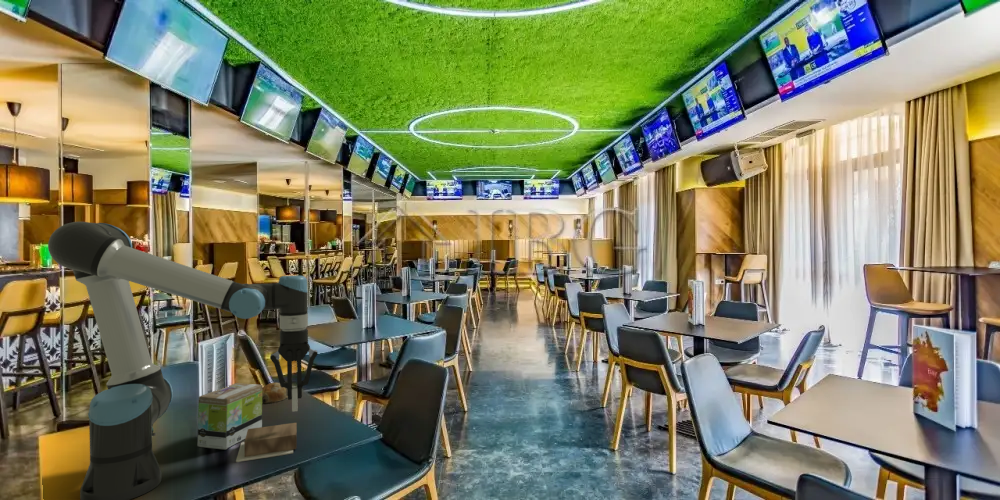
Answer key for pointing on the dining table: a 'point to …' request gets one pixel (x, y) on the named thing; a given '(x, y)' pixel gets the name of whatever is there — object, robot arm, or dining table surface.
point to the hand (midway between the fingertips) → (294, 409)
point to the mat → (242, 454)
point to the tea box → (228, 415)
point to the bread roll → (273, 393)
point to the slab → (271, 439)
